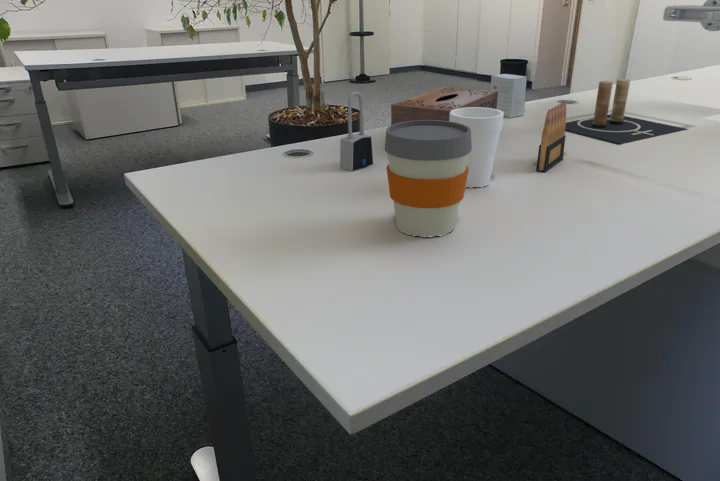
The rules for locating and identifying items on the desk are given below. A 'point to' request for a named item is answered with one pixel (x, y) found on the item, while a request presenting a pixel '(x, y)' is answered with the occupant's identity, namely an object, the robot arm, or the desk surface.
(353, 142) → the padlock
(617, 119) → the birch stamp
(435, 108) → the tissue box cover
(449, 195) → the reusable coffee cup
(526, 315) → the desk surface
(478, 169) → the foam cup
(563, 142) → the ammunition clip
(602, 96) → the beech stamp
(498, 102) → the small box
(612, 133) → the desk pad
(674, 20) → the robot arm
